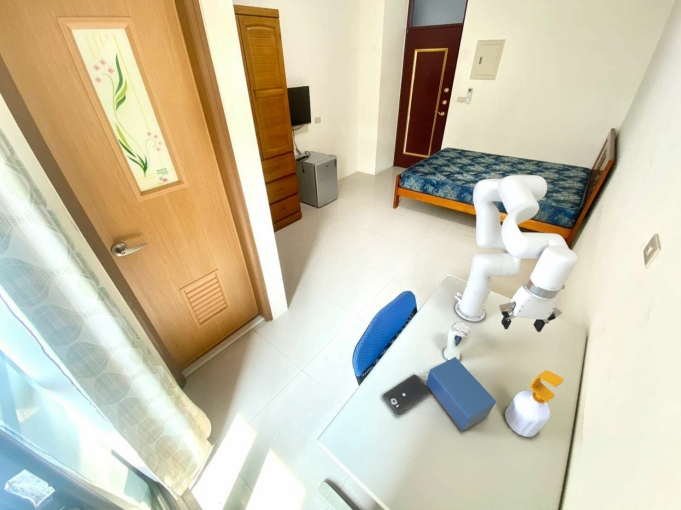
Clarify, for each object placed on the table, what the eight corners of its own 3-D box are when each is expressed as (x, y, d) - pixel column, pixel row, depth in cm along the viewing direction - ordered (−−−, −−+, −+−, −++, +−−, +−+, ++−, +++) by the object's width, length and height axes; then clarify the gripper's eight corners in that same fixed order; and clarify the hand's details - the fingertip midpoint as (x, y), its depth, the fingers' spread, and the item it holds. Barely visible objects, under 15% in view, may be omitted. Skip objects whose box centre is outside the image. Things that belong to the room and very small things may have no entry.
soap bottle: (524, 443, 83) (561, 400, 69) (498, 415, 90) (527, 371, 76) (543, 428, 87) (582, 384, 73) (516, 402, 93) (547, 357, 79)
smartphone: (382, 396, 95) (382, 394, 95) (414, 374, 101) (415, 373, 101) (396, 416, 90) (397, 414, 89) (430, 392, 96) (430, 390, 96)
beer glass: (440, 358, 107) (449, 332, 99) (444, 344, 112) (452, 319, 104) (459, 365, 104) (470, 340, 96) (462, 351, 110) (472, 326, 101)
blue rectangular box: (424, 385, 98) (430, 369, 92) (448, 373, 102) (455, 356, 96) (461, 433, 86) (469, 417, 80) (486, 417, 89) (496, 401, 84)
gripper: (568, 280, 81) (543, 320, 91) (505, 276, 82) (488, 316, 92) (583, 298, 75) (555, 339, 85) (515, 293, 76) (495, 334, 86)
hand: (520, 327), depth 88 cm, fingers open, 9 cm apart
